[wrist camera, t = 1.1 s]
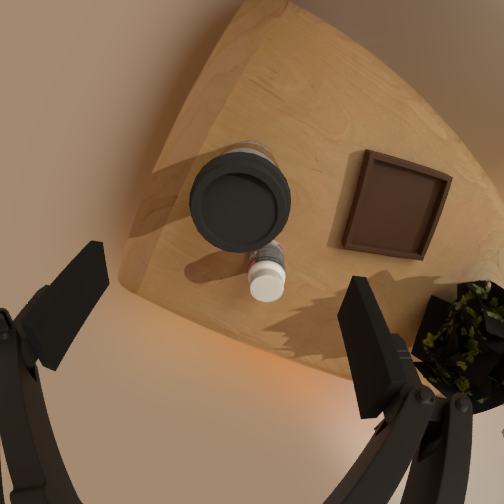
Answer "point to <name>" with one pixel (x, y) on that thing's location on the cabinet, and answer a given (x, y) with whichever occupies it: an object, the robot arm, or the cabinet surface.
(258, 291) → the pill bottle
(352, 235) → the tray
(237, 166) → the coffee cup
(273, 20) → the cabinet surface
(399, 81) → the cabinet surface
